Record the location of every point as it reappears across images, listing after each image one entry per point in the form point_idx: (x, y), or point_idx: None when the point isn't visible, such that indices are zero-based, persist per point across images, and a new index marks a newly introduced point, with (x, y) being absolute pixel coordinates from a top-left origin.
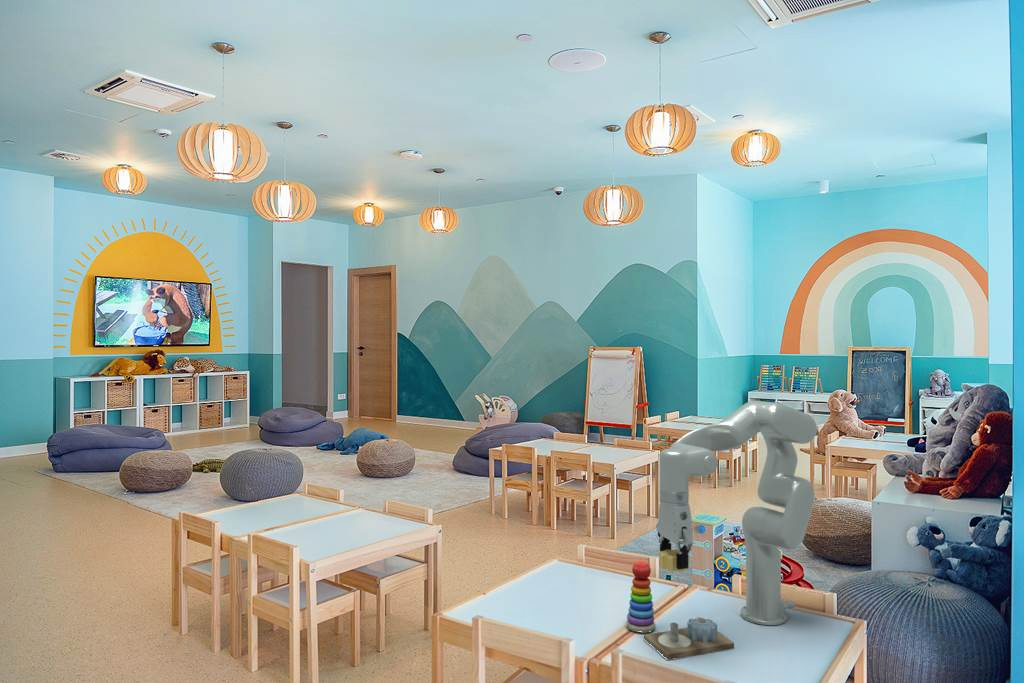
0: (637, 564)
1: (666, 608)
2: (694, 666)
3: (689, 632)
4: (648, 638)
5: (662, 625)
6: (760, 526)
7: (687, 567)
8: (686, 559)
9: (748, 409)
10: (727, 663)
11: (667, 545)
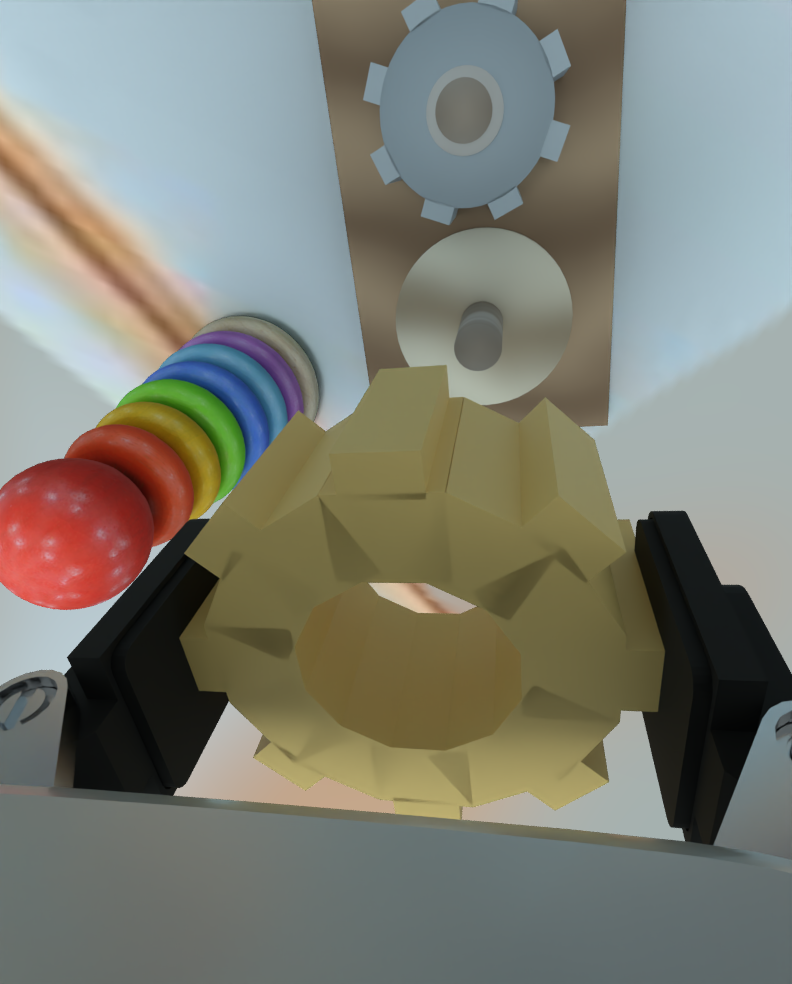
0: (66, 605)
1: (7, 127)
2: (714, 313)
3: (456, 211)
4: None
5: (232, 260)
6: None
7: (681, 519)
8: (772, 655)
9: None
10: (777, 95)
11: (156, 706)
